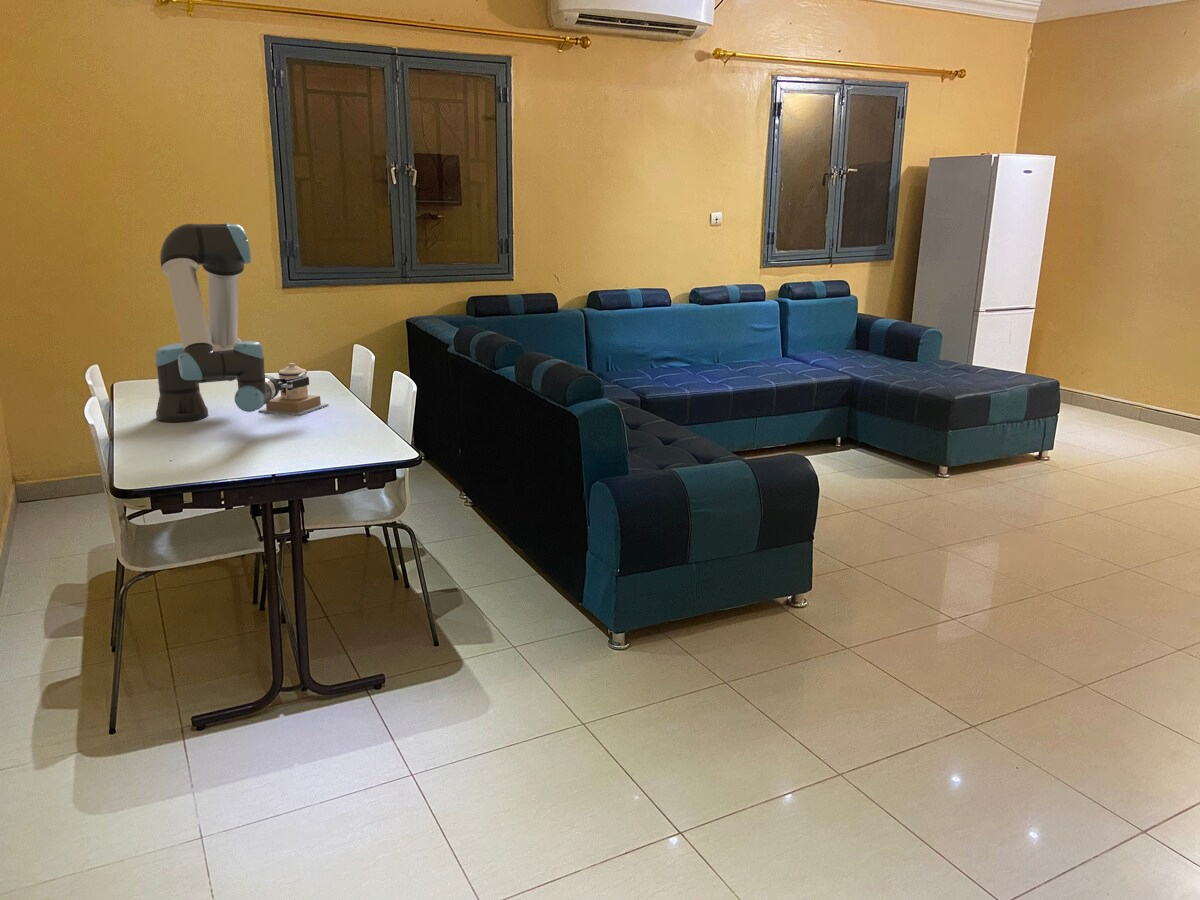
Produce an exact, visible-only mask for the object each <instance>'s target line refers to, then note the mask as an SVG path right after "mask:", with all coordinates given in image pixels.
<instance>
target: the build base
mask: <svg viewBox="0 0 1200 900" xmlns="http://www.w3.org/2000/svg"><path fill="white" fill-rule="evenodd" d="M265 406H266V407H264V408H260V409H258V413H263V412H269V413H268V414H275V413H278V414H279V415H287V414H294V415H293V416H300V415H301V416H303V415H302V414H304V415H306V414H305V413H307V414H309V413H312V412H315V411H317V410H316V409H318V410H320V409H319V408H321V409H323V408H326V407H328V406H329V403H322V402H321V396H320V395H314V394H308V397H307V398H304V399H298V400H285V399H282V398H281V395H280V396H276V397H274V398H273V399H272V400H270V401H269V402H267V403H266V404H265ZM325 406H326V407H325ZM322 407H323V408H322ZM314 410H315V411H314ZM311 411H312V412H311ZM308 412H309V413H308ZM278 414H277V415H278Z"/></svg>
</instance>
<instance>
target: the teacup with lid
mask: <svg viewBox="0 0 1200 900" xmlns="http://www.w3.org/2000/svg"><path fill="white" fill-rule="evenodd" d="M303 372H305V374H306V377H308V376H307V373H308V372H307V370H306V369H305V368H301V367H299V366H298V365H296V363H295V362H289V364H288V366H286V367H285V368H284V367H283V368H282V369H280V370H279V371H278V377H279V378H284V379H289V378H295V377H298V375H300V374H301V373H303ZM279 378H278V379H279ZM280 382H281V381H280ZM279 392H280V396H281V398H282V399H285V400H298V399H304V398H307V397H308V395H309V393H308V385H306V386H304V387H299V388H295V389H292V390H288V389H287V388H286V389H284V390H279Z"/></svg>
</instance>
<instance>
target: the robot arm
mask: <svg viewBox="0 0 1200 900" xmlns="http://www.w3.org/2000/svg"><path fill="white" fill-rule="evenodd" d="M159 260H160V261H159V263H160V267H161V268H160V269H161V271H162V273H163V274H164V275H166V276H167V280H168V285H169V290H170V294H171V299H172V303H173V308H174V314H175V317H176V322H177V325H178V330H179V334H180V335H179V336H180V340H181V342H177V343H172V344H168V345H164V346H160V347H159V348H158V349H157V350H156V351H155V353H154V354H155V355H154V356H155V363H154V364H155V366H156V373H157V383H158V391H159V397H158V402H157V408H156V410H155V418H156V420H157V421H159V422H163V423H182V422H191V421H197V420H202V419H204V418H206V417H208V416H209V410H208V409H209V408H208V407H207V406H206V403H205V401H204V398H203V396H202V394H201V389H200V384H207V383H215V382H216V383H218V382H227V381H228V382H233V381H235V380H237V388H238V389H237V391H236V392H235V394H234V402H235V404H236V406H237V408H238V409H239V410H241V411H243V412H245V413H252V412H255V411H257V410H258V411H259V410H261V409H263V406H264V405H265V406H266V403H267V402H269V401H270V400H272V399H274V398H277V397H278V394H279V392H280V390H284V389H286V388H287V389H288V390H292V389H295V388H299V387H304V386H306V385H307V386H309V385H310V378H309V376H307V373H306V374H305V372H303V373H301V374H300V375H298V377H295V378H289V379H284V378H275V377H273V376H271V375H267V374H266V373H265V372H266V371H265V357H264V352H263V351H264V350H263V346H262V344H261V343H260V342H259V341H254V340H246V341H245V340H244V341H242V339H240V338H239V276H240V275H242V273H243V272H244V271H245V265H248V264H250V263H251V261H252V255H251V248H250V243H249V239H248V235H247V233H246V231H245V229H244V228H243V227H242V226H241V225H240V224H233V223H185V224H181V225H179V226H177V227H175V228H173V229H172V231H170V232H169V233H168V234H167V236H166V237H165V239H164V240H163V243H162V245H161V249H160V255H159ZM199 265H201V268H202V269H203V270H204V271H205V272H206V273H207V296H208V297H207V301H208V302H207V310H208V312H207V315H208V319H207V316H206V311H205V307H204V306H205V305H204V302H203V298H202V294H201V289H200V285H199V281H198V280H199V279H198V276H197V271H198V270H199ZM306 376H307V377H306ZM280 381H281V382H280Z"/></svg>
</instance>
